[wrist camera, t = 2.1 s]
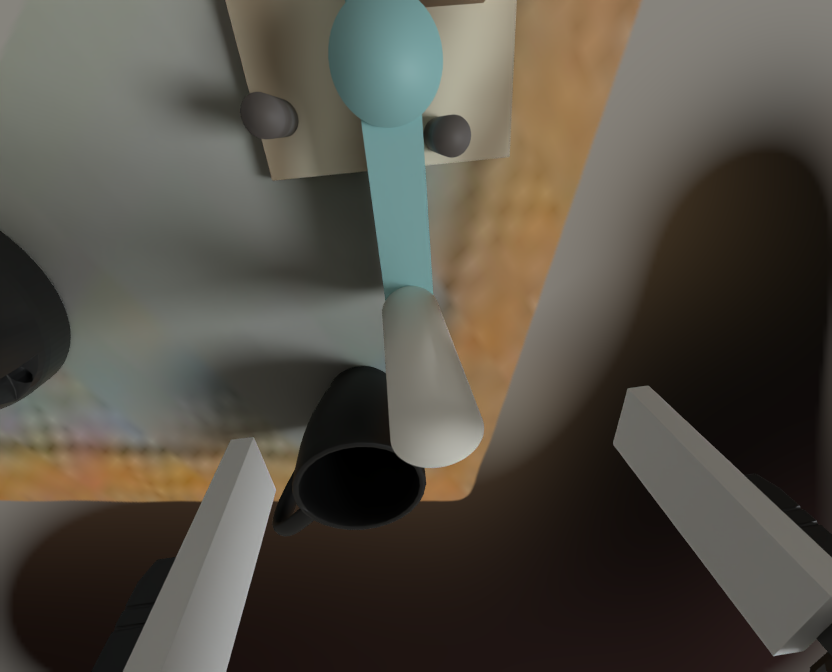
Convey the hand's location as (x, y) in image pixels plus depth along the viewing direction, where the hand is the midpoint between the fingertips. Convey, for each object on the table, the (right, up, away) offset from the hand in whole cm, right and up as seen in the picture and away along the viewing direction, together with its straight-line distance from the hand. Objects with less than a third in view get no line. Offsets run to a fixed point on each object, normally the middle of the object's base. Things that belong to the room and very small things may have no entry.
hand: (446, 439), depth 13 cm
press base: (-3, +19, +6) cm, 20 cm away
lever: (-2, +14, +7) cm, 16 cm away
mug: (-7, -2, +18) cm, 20 cm away
